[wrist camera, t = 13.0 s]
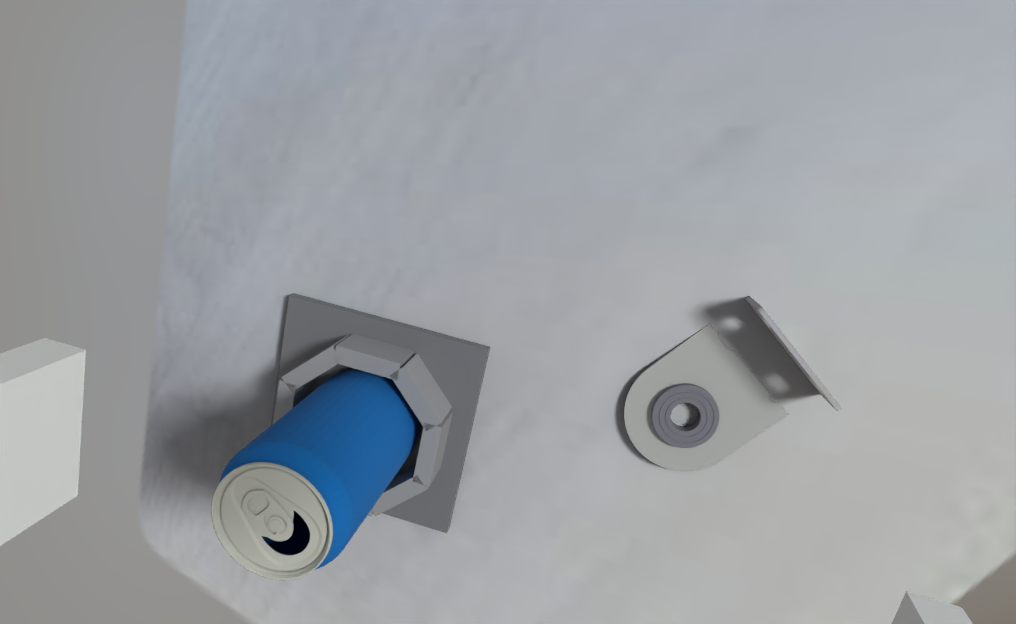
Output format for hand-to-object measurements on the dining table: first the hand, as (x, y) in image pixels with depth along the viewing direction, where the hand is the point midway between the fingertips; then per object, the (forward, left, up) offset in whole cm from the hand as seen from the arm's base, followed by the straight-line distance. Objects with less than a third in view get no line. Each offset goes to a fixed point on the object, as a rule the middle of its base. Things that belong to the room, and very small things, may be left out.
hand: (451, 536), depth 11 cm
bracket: (+6, +9, -29) cm, 31 cm away
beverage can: (+13, -10, -28) cm, 33 cm away
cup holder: (+13, -10, -29) cm, 33 cm away
